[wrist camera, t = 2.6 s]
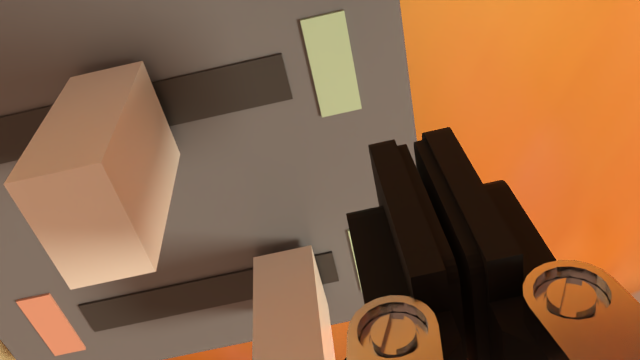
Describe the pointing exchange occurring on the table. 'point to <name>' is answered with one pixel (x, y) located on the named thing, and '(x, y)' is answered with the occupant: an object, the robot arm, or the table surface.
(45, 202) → the block
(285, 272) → the block
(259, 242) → the breaker panel
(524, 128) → the table surface
